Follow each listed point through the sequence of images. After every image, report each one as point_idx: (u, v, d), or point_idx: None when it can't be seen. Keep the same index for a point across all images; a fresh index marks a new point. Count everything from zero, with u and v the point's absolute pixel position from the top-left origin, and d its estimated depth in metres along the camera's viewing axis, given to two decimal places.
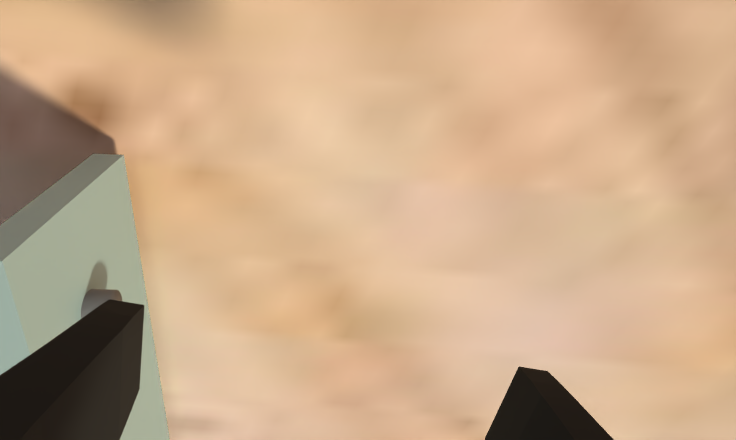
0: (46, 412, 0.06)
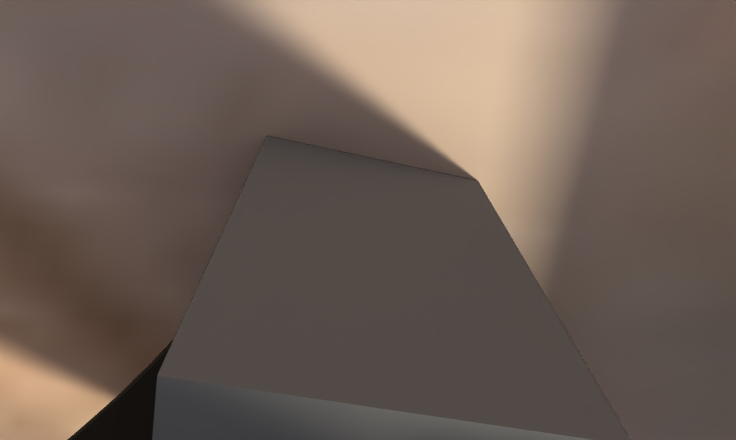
0: None
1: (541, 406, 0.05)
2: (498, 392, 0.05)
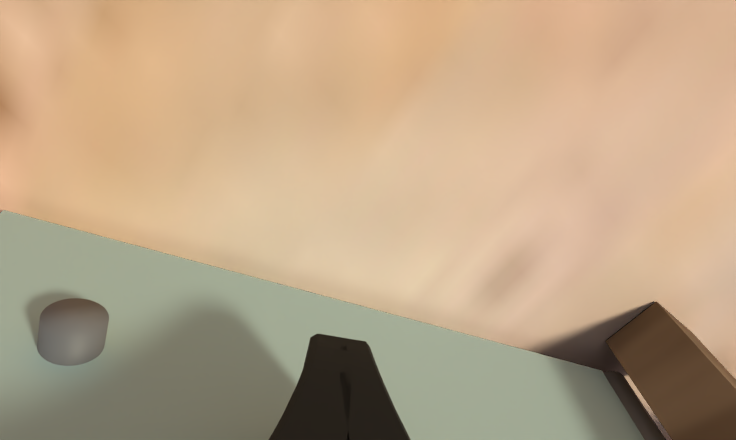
0: None
1: None
2: None
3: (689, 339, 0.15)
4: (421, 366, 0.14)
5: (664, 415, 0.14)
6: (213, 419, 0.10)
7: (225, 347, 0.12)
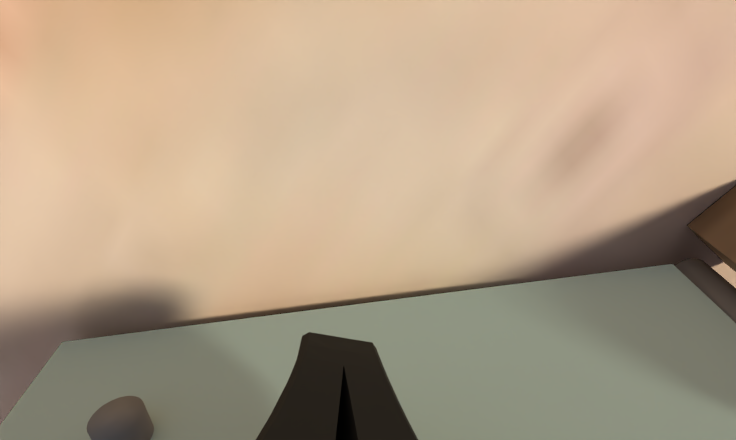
0: None
1: None
2: None
3: None
4: (459, 337, 0.13)
5: None
6: None
7: (261, 391, 0.13)
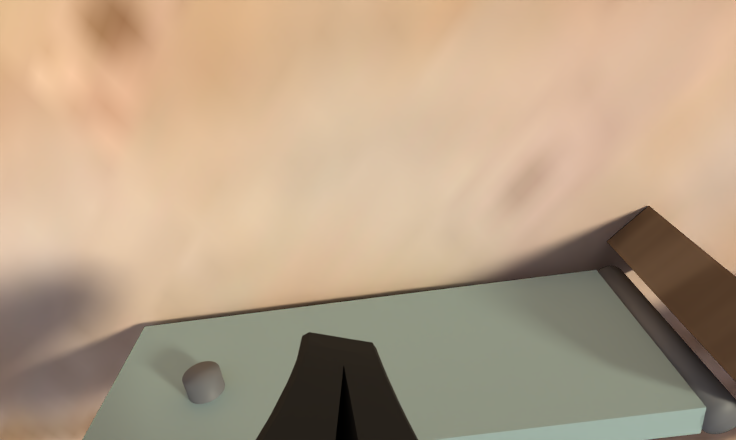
0: None
1: None
2: None
3: (674, 228, 0.18)
4: (437, 322, 0.19)
5: (654, 283, 0.17)
6: None
7: None
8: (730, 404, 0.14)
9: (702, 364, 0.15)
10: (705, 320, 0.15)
